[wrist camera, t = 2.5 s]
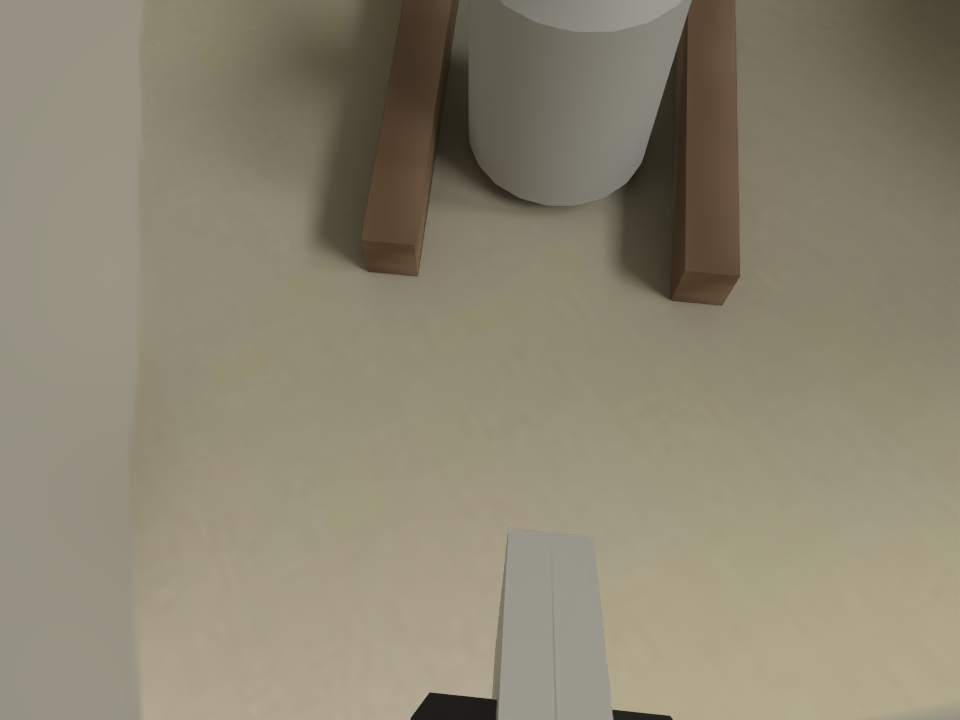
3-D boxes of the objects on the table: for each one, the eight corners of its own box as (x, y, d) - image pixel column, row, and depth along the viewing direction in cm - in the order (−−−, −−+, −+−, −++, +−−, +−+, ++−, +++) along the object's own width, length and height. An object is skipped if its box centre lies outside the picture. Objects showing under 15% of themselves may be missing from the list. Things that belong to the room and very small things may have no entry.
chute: (719, -3, 40) (734, -45, 38) (722, 305, 34) (740, 275, 32) (419, -29, 40) (416, -72, 38) (367, 271, 34) (360, 240, 32)
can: (454, 85, 38) (448, -178, 27) (620, 63, 38) (681, -204, 27) (484, 231, 35) (492, 3, 24) (663, 204, 36) (751, -30, 25)
